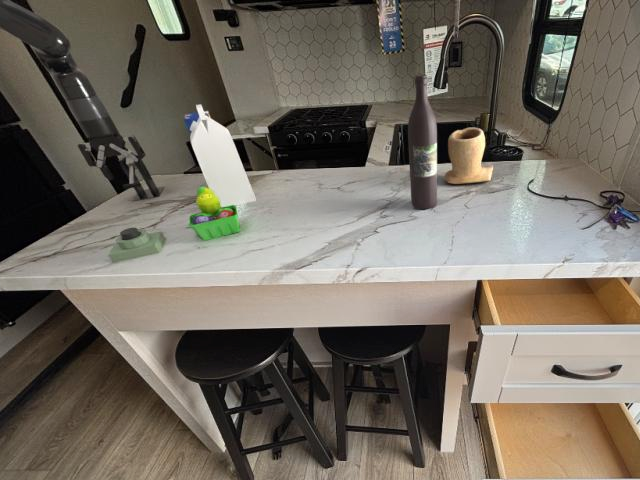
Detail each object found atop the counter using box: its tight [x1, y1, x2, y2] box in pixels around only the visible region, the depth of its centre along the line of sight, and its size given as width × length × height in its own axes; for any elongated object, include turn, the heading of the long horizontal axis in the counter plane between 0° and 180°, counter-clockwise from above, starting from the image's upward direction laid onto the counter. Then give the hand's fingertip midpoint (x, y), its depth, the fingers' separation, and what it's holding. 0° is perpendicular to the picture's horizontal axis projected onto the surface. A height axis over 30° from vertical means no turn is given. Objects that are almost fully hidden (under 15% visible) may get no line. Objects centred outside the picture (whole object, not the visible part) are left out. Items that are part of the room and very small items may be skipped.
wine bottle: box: [407, 74, 438, 210], centre depth 84 cm, size 7×7×30 cm
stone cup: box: [444, 127, 494, 185], centre depth 100 cm, size 15×12×15 cm
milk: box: [189, 104, 258, 207], centre depth 99 cm, size 12×12×26 cm
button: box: [119, 227, 141, 240], centre depth 81 cm, size 4×4×2 cm
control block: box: [107, 229, 166, 263], centre depth 83 cm, size 10×8×4 cm
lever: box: [122, 157, 143, 190], centre depth 105 cm, size 12×4×2 cm, turn 20°
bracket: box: [117, 156, 165, 202], centre depth 110 cm, size 10×8×13 cm
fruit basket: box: [188, 185, 241, 242], centre depth 85 cm, size 11×9×11 cm
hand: (127, 176), depth 101 cm, fingers open, 8 cm apart
